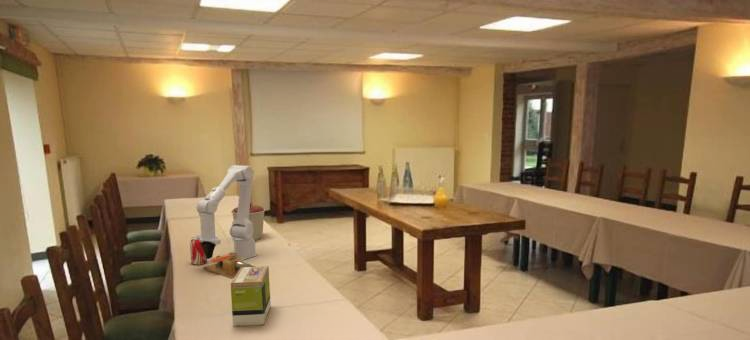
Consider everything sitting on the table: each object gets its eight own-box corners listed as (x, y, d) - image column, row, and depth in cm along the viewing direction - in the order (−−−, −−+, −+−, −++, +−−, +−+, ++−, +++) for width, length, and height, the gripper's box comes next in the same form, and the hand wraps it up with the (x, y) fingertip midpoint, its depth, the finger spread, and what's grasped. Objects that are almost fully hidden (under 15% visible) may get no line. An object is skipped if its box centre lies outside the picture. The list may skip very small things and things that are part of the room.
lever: (233, 255, 196) (233, 251, 195) (238, 256, 194) (238, 253, 194) (210, 262, 186) (210, 258, 186) (214, 263, 184) (214, 260, 184)
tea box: (242, 307, 154) (240, 266, 152) (271, 305, 155) (270, 265, 153) (231, 326, 139) (230, 281, 137) (264, 325, 140) (262, 280, 138)
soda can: (201, 266, 197) (200, 240, 196) (187, 265, 199) (186, 239, 197) (210, 261, 204) (209, 236, 203) (197, 260, 205) (195, 235, 204)
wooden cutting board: (202, 269, 193) (202, 258, 193) (229, 260, 205) (229, 250, 204) (232, 278, 181) (232, 267, 181) (259, 269, 193) (259, 258, 192)
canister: (271, 236, 249) (270, 199, 246) (257, 244, 231) (256, 205, 229) (241, 234, 252) (240, 198, 250) (225, 243, 234) (224, 204, 232)
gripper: (189, 226, 190) (191, 257, 191) (209, 231, 181) (211, 263, 183) (204, 223, 196) (205, 253, 197) (224, 228, 187) (225, 259, 189)
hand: (209, 258), depth 190 cm, fingers closed
